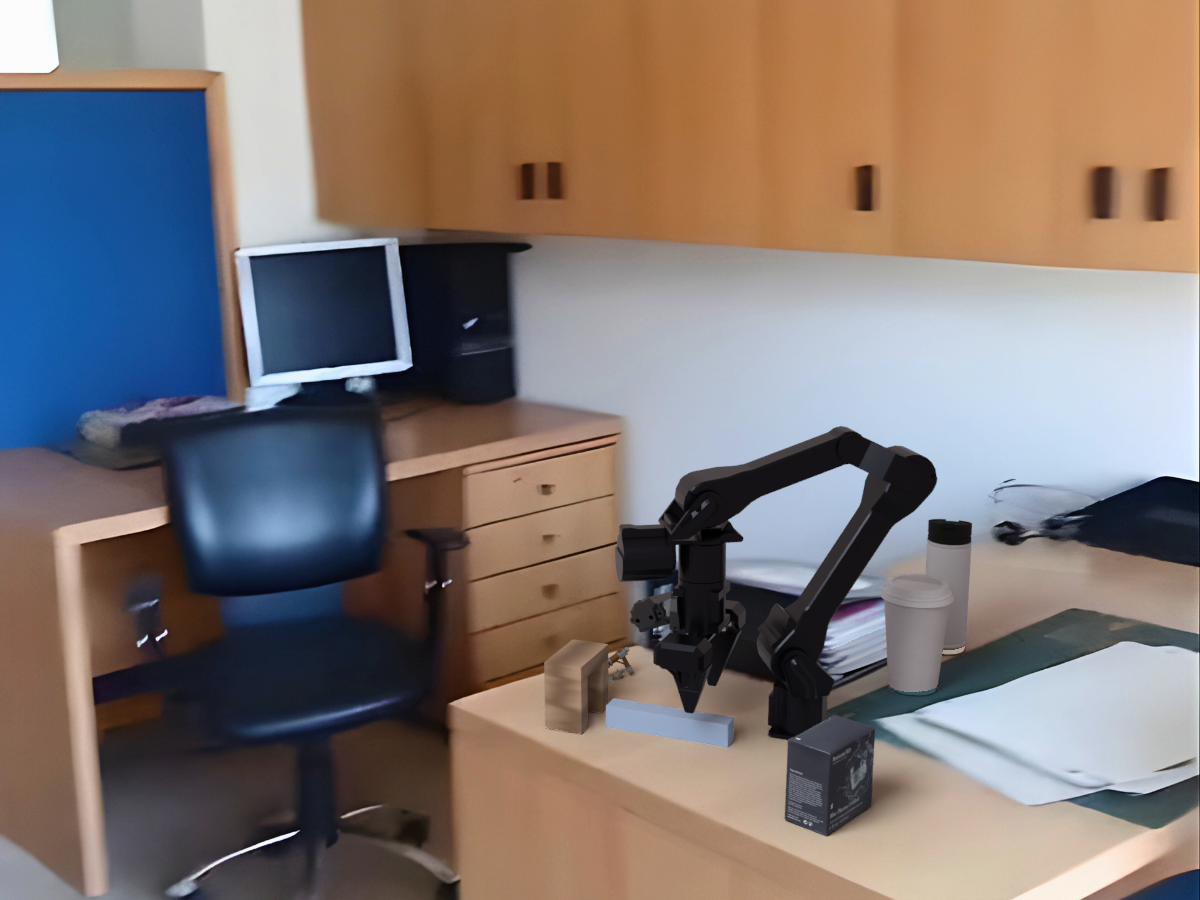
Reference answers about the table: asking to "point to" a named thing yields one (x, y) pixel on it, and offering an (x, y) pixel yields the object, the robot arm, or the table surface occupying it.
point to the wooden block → (575, 685)
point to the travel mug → (951, 572)
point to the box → (829, 774)
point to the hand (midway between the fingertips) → (701, 698)
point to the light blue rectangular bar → (670, 722)
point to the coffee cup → (915, 629)
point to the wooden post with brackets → (620, 655)
